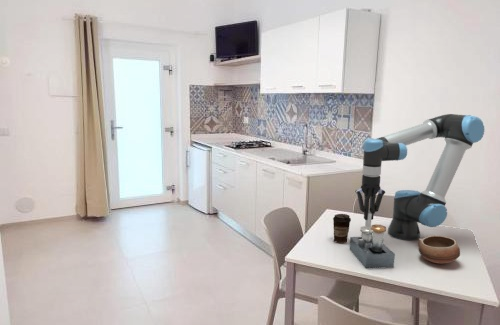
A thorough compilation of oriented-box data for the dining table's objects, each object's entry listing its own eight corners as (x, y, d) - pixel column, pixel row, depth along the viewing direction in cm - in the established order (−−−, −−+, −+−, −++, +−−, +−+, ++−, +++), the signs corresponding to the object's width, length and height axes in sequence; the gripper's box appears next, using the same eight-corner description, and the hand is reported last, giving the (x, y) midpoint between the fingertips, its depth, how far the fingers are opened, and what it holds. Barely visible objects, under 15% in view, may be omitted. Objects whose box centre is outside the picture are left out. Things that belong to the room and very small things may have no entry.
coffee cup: (349, 245, 178) (351, 219, 176) (331, 243, 180) (333, 217, 177) (348, 238, 187) (350, 213, 184) (331, 237, 188) (333, 212, 186)
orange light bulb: (380, 246, 162) (382, 224, 160) (386, 252, 156) (388, 229, 154) (367, 247, 161) (369, 224, 159) (373, 253, 156) (374, 229, 154)
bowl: (412, 252, 171) (414, 232, 169) (447, 253, 171) (449, 232, 169) (426, 269, 156) (429, 246, 154) (465, 270, 155) (468, 247, 153)
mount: (374, 248, 175) (375, 236, 174) (393, 267, 157) (394, 254, 155) (349, 249, 174) (350, 237, 173) (365, 268, 155) (366, 254, 154)
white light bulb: (369, 247, 174) (370, 226, 172) (374, 252, 168) (376, 230, 166) (357, 247, 173) (358, 226, 171) (361, 253, 167) (363, 231, 165)
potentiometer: (363, 243, 165) (363, 238, 165) (365, 246, 162) (366, 240, 162) (357, 244, 165) (357, 238, 164) (359, 246, 162) (359, 240, 162)
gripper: (382, 172, 168) (378, 223, 173) (353, 173, 167) (350, 223, 171) (389, 176, 161) (385, 229, 165) (360, 177, 159) (356, 230, 164)
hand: (367, 226), depth 168 cm, fingers closed
